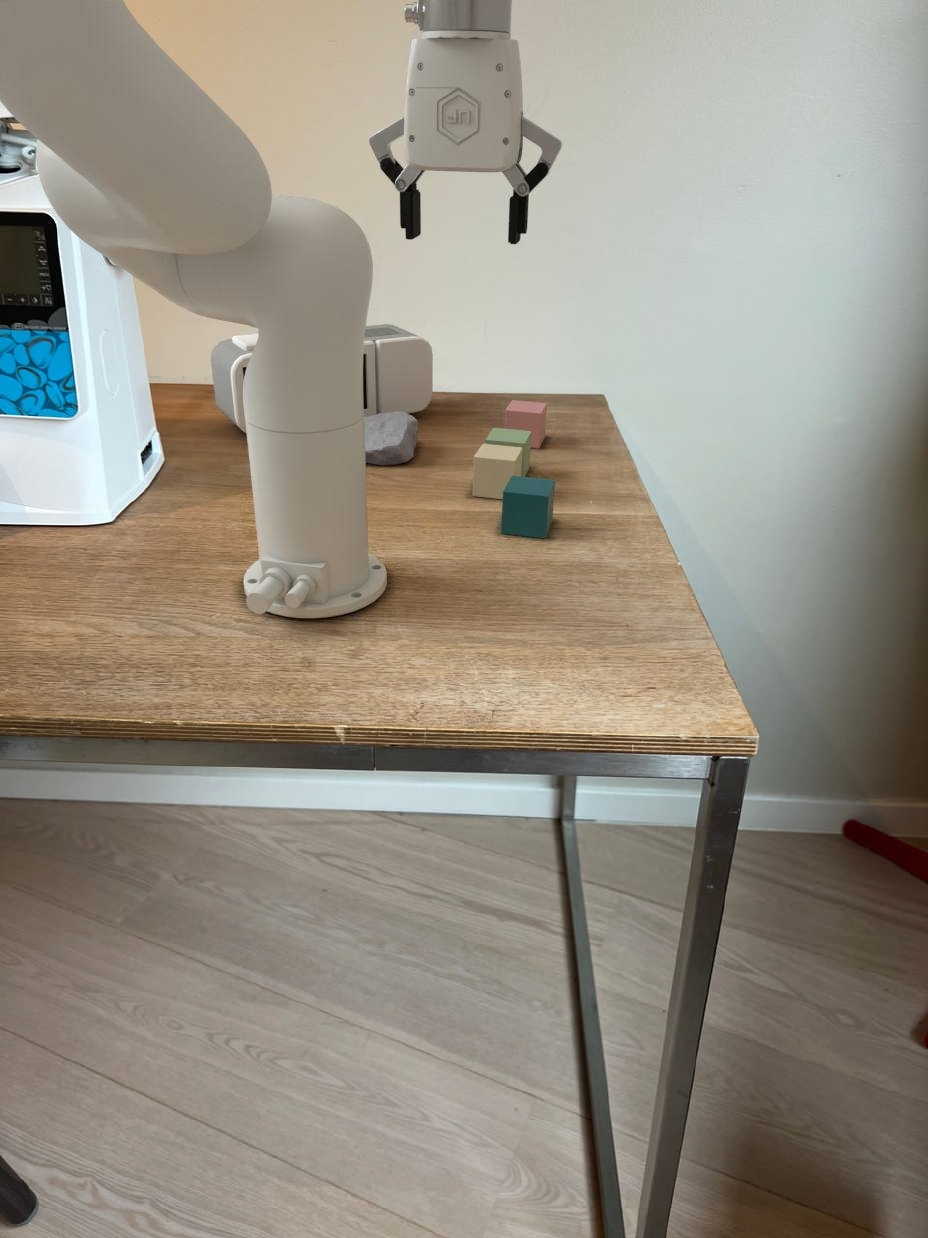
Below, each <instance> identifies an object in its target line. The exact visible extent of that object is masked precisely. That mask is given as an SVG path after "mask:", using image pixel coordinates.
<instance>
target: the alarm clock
mask: <svg viewBox="0 0 928 1238" xmlns="http://www.w3.org/2000/svg"><path fill="white" fill-rule="evenodd" d="M258 334H259V333H251V334H250V333H249V334H241V335H240V334H239V335H233V336H232V337H231V338H227V339H224V340H221V341H219V342H218V343H216V344H215V345H214V347H213V349H212V351H211V353H210V364H211V375H212V384H213V391H214V392H213V393H214V400H215V404H216V407H217V409H218V410H219V411H220V412H221V413H222V414H223V415H224V416H225V417H227V419H229V420H230V422H232V423H233V424H234V425H235V426H236V427H238V428H239V429H240V430H241V431H242V432H243V433H245V434H247V432H246V422H245V416H244V405H243V382H244V376H245V372H246V368H247V366H248V363H249V360H250V358H251V355H252V353H253V351H254V348H255V345H256V342H257V339H258ZM433 354H434V353H433V349H432V346H431V344H430V342H429V341H428V340H427V339H425V338H423V337H421V336H419V335H417V334H416V333H412V332H410V331H408V330H406V329H404V328H401V327H399V326H397V325H394V324H389V323H383V324H374V325H366V328H365V337H364V350H363V404H364V416H365V417H366V416H373V415H376V414H379V413H389V412H405V413H407V414H408V415H411V414H413V413H418V412H422V411H423V410H424V409H426V408H427V407H428V406H429V404H430V403H431V401H432V398H433V387H434V385H433V382H434V380H433V379H434V378H433V377H434V375H433V372H434V369H433V362H434V361H433V360H434V359H433V358H434V357H433V356H434V355H433Z"/></svg>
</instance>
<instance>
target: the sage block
mask: <svg viewBox="0 0 928 1238" xmlns="http://www.w3.org/2000/svg"><path fill="white" fill-rule="evenodd" d="M531 434H532V431H524V430H513V429H505V428H501V427H492V429H491V431H490V432H489V433H488V435H487V436H486V437H485V439H484V444H492V445H502V446H513V447H522V448H523V451H522V469H521V477H527V474H528V472H529V470H530V465H531V451H532V450H531V449H532V448H531Z"/></svg>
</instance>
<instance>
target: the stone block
mask: <svg viewBox="0 0 928 1238" xmlns="http://www.w3.org/2000/svg"><path fill="white" fill-rule="evenodd" d="M364 429H365V459H366V464H373V465H378V466H391V465H392V466H393V465H401V464H403V463H407V462H409V461H410V460H411V459H414V457H415V455H414V454H415V449H416V446H417V443H418V440H419V439H418V435H419V434H418V433H419V422H418V419H417V418H415V417H414V416H413V415H411V414H410V415H408V414H407V413H405V412H389V413H379V414H376V415H373V416H366V417H365V416H364Z"/></svg>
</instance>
